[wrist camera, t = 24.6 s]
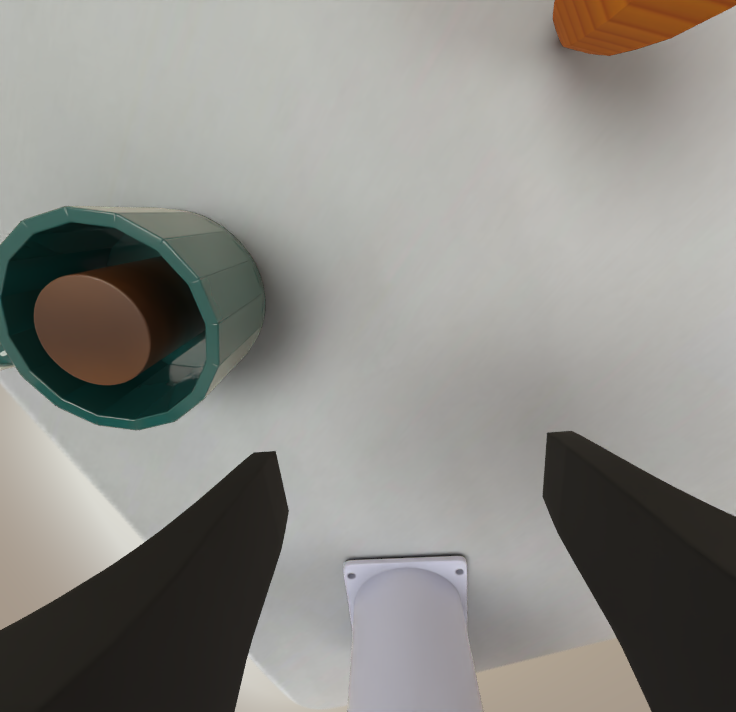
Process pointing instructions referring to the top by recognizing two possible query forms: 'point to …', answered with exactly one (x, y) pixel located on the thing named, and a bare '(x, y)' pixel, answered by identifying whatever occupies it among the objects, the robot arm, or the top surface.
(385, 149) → the top surface
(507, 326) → the top surface
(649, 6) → the carrot
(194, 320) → the walnut peg
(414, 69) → the top surface
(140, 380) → the mug
